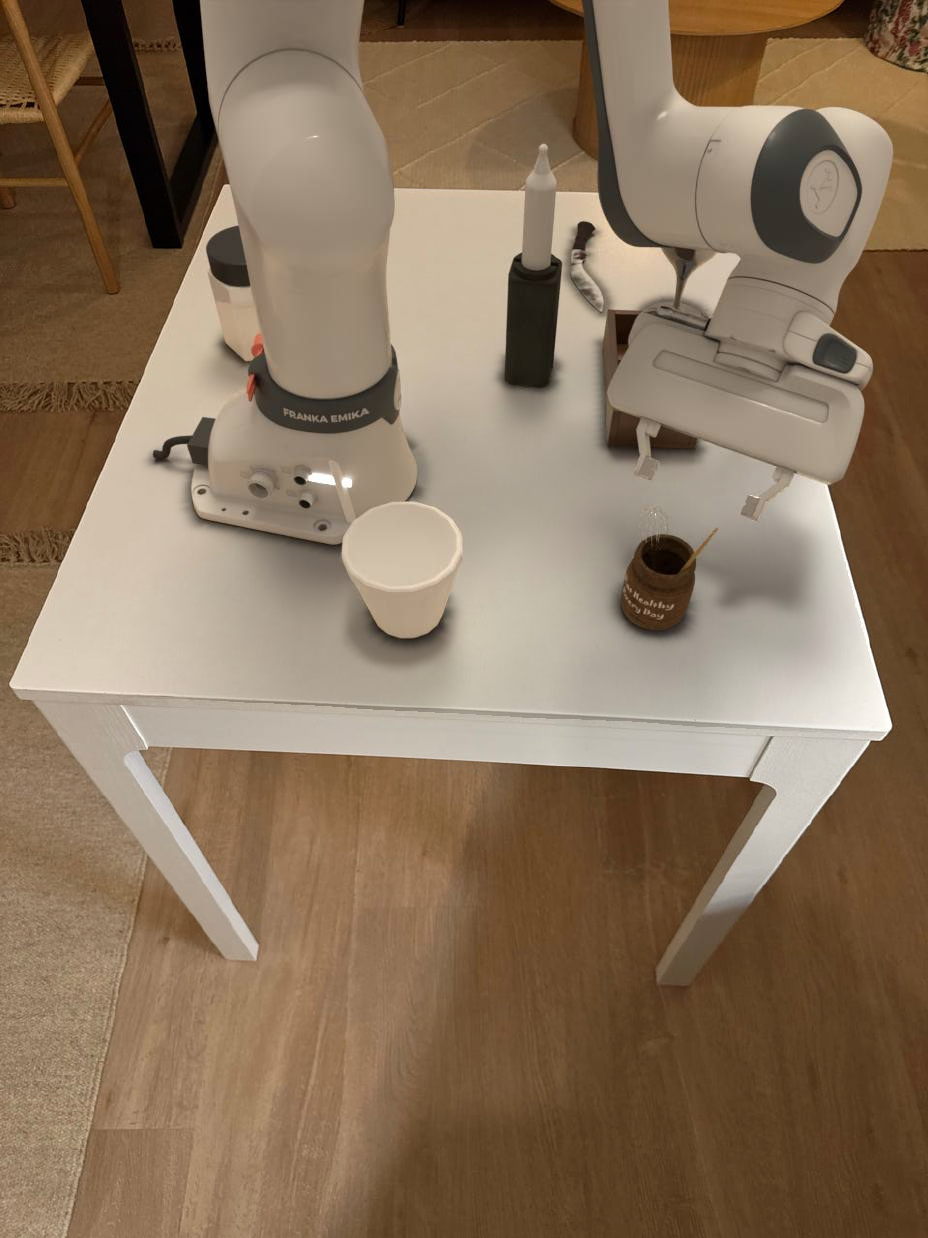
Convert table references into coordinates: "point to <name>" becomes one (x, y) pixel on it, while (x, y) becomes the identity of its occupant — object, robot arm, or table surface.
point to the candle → (534, 285)
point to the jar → (232, 291)
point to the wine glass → (684, 272)
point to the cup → (403, 565)
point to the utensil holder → (660, 580)
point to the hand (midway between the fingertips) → (694, 497)
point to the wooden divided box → (614, 349)
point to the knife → (577, 271)
